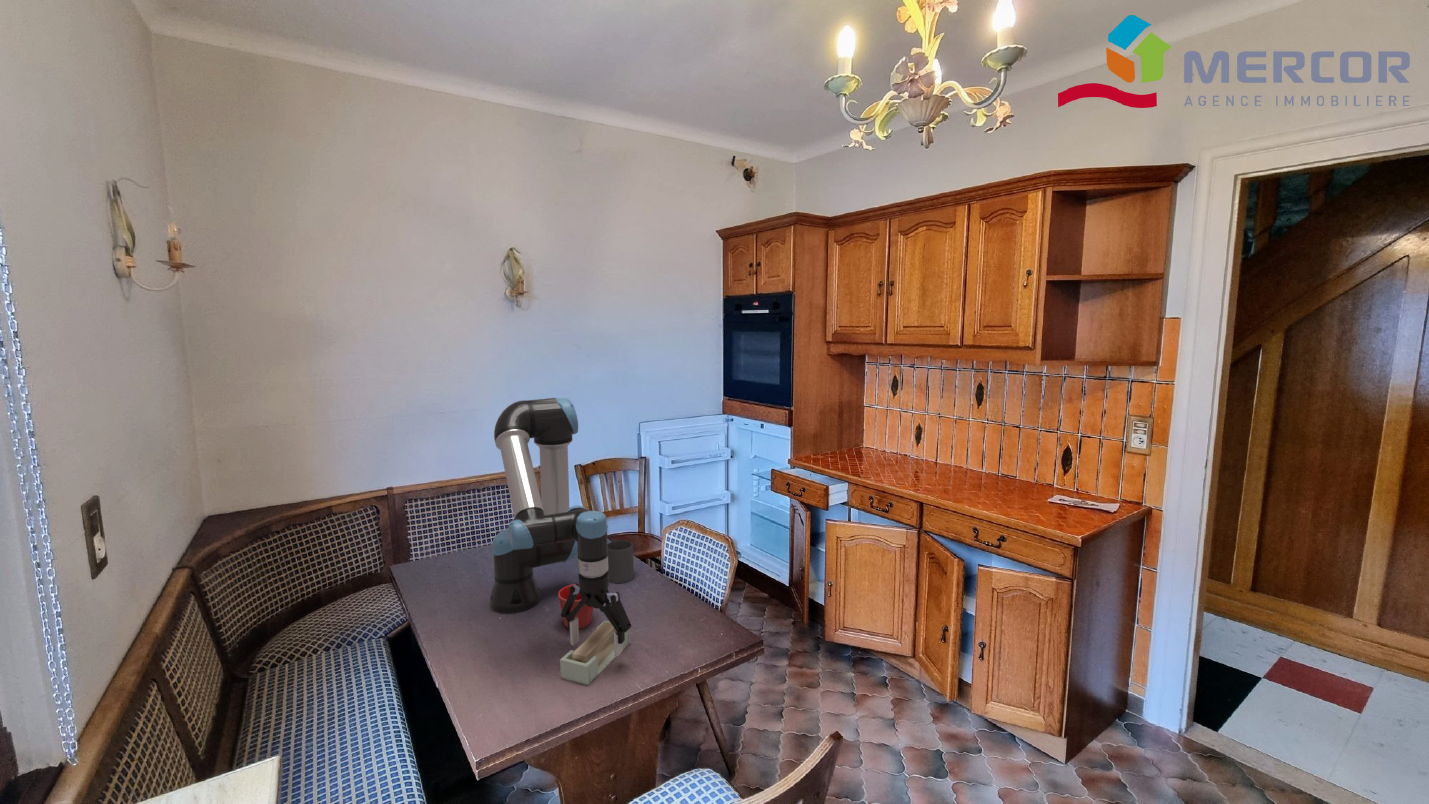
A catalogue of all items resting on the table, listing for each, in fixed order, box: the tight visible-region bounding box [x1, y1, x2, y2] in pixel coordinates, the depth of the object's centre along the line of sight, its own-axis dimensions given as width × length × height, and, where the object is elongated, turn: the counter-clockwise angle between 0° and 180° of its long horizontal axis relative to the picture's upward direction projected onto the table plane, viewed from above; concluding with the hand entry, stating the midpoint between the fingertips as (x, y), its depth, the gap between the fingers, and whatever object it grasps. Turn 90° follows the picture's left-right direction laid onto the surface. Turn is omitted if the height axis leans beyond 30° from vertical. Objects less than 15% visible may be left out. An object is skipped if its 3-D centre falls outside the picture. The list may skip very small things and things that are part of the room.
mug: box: [607, 539, 635, 584], centre depth 200 cm, size 14×9×12 cm
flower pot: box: [557, 583, 594, 629], centre depth 169 cm, size 11×11×10 cm
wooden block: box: [572, 621, 616, 666], centre depth 150 cm, size 4×16×6 cm, turn 161°
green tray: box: [559, 620, 631, 686], centre depth 151 cm, size 8×20×5 cm, turn 158°
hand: (596, 648), depth 151 cm, fingers open, 13 cm apart
